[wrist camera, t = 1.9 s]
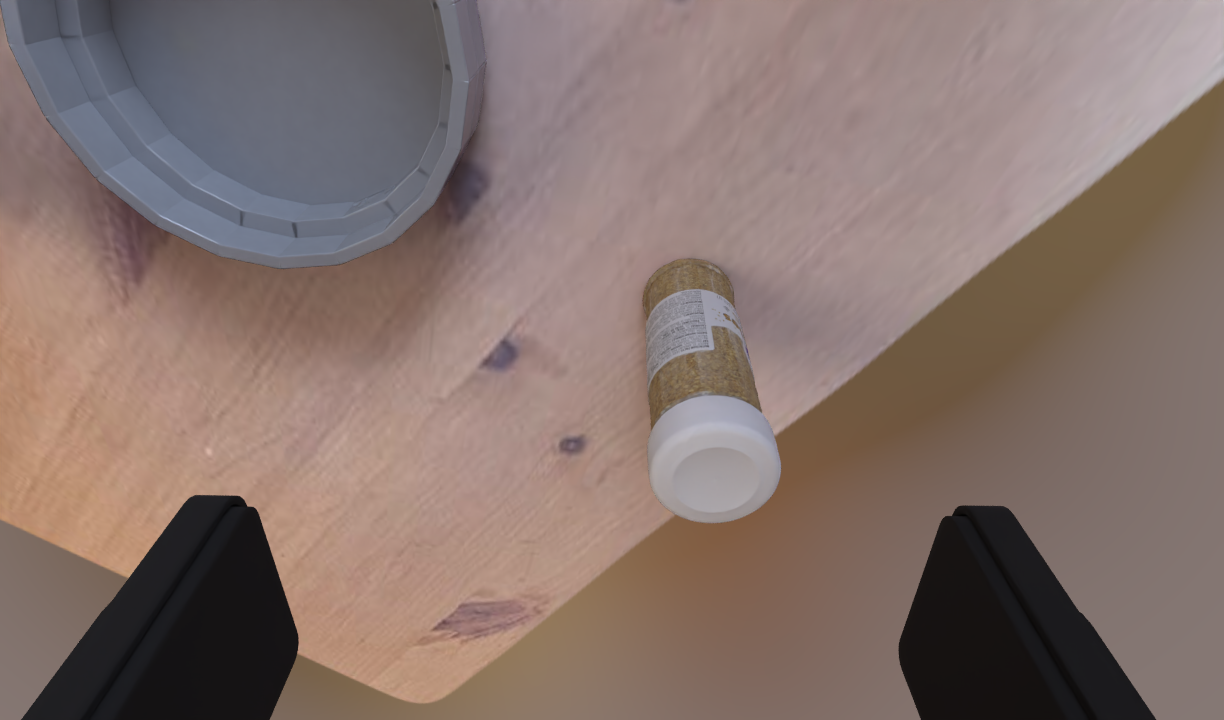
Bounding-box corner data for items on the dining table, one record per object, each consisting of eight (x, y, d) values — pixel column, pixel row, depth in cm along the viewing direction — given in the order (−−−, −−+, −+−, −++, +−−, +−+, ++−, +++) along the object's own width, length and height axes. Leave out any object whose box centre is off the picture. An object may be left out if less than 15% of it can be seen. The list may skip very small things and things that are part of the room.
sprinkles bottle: (744, 317, 36) (799, 508, 25) (660, 347, 37) (676, 542, 26) (715, 240, 34) (761, 410, 23) (626, 273, 35) (628, 452, 24)
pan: (441, -232, 25) (408, -256, 21) (514, 214, 33) (500, 254, 30) (-4, -183, 26) (-114, -198, 22) (180, 238, 34) (125, 280, 31)
